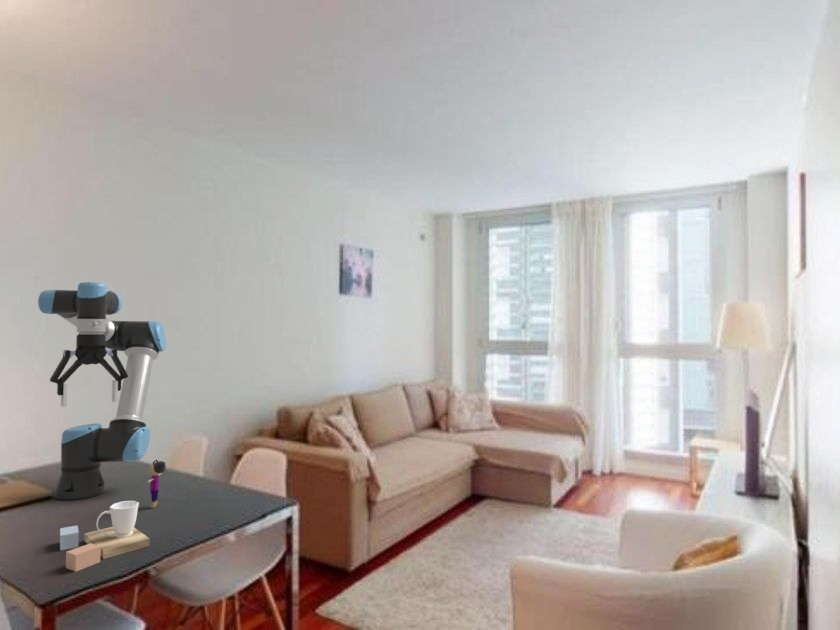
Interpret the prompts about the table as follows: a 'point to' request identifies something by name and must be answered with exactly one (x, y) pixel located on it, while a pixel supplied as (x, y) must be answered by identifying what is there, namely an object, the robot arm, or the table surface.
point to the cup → (122, 518)
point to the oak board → (116, 542)
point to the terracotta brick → (83, 557)
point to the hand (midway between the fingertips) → (89, 404)
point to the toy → (155, 480)
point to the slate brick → (69, 537)
